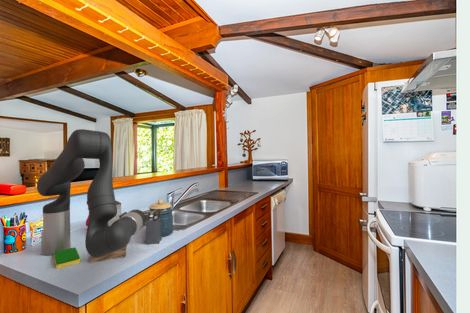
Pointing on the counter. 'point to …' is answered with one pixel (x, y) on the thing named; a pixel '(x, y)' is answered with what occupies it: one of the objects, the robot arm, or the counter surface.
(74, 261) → the dish sponge
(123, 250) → the tray
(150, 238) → the grey square container
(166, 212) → the canister
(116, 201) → the coffee box
